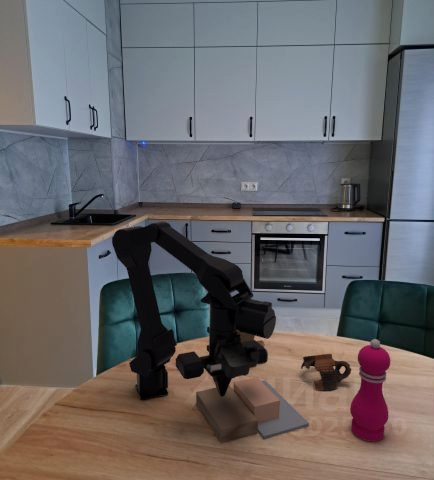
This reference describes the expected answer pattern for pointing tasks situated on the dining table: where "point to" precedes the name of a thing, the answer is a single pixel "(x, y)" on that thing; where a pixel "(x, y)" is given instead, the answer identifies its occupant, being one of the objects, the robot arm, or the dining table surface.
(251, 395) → the salmon pink block
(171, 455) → the dining table surface
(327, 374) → the pottery mug
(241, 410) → the ledge
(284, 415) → the mat
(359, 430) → the pepper mill
